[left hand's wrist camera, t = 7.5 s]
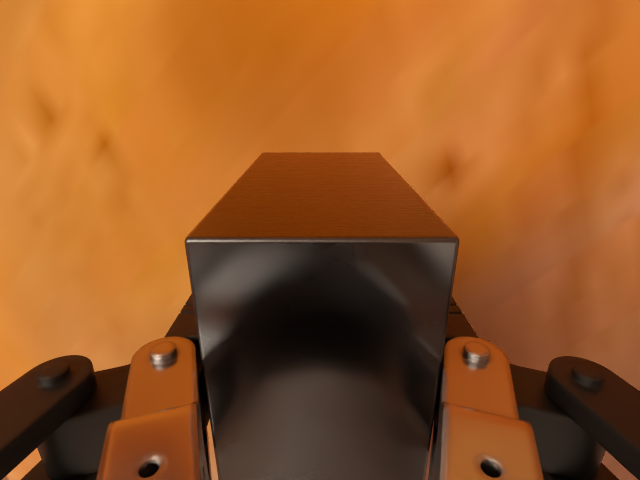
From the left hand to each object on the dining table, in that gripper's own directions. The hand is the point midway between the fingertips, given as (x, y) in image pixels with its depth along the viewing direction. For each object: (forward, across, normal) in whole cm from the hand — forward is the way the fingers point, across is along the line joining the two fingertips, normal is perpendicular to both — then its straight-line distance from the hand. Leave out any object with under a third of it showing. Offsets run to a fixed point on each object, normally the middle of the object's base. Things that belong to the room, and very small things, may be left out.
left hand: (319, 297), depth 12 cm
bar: (+5, 0, +10) cm, 11 cm away
